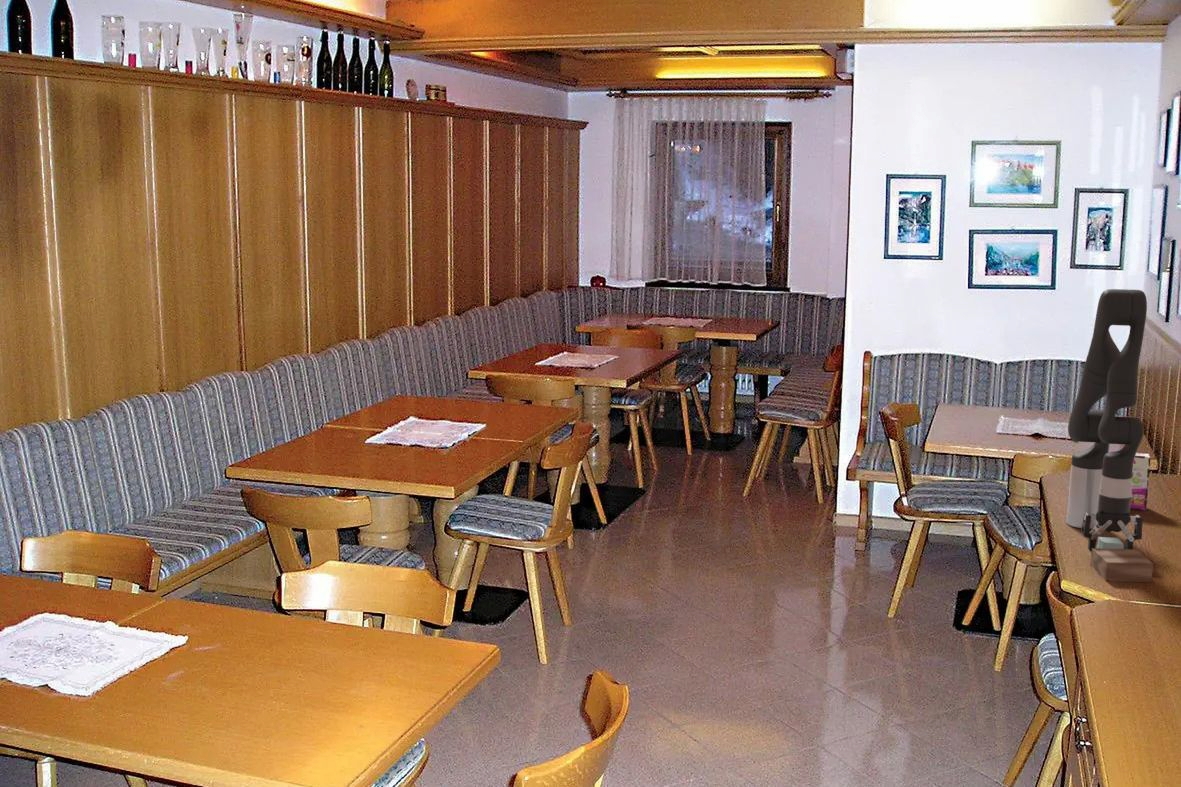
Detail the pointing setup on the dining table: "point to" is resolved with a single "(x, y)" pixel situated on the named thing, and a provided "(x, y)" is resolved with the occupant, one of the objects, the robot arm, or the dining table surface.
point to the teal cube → (1109, 543)
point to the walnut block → (1121, 565)
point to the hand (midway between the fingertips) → (1109, 553)
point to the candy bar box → (1140, 481)
